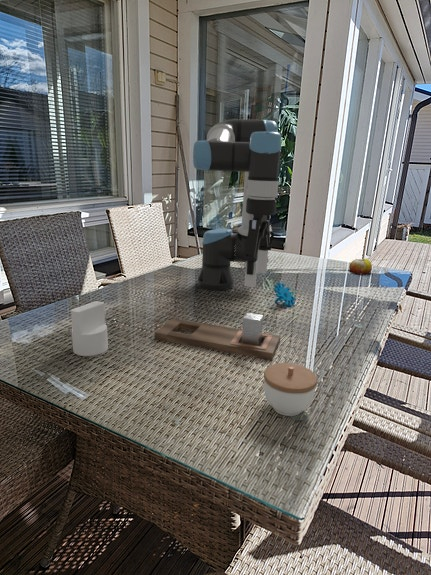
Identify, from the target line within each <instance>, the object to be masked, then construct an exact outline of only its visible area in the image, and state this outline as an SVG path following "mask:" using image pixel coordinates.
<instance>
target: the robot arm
mask: <svg viewBox="0 0 431 575" xmlns="http://www.w3.org/2000/svg"><path fill="white" fill-rule="evenodd" d="M278 128H279V127H278V124H277V123H276V122H275V121H274V120H268V119H246V118H245V119H238V118H231V119H225V120H223V121H220V122H217V123H215V124H214V125H213V126H212V127H211V128H209V130H208V132H207V135H206V139H203V140H195V142H194V143H193V150H192V162H193V163H192V164H193V167H194V169H195V170H199V171H200V170H201V171H205V172H206V171H208V172H209V171H217V172H219V171H222V172H223V171H224V172H240V173H241V172H244V178H243V179H244V180H243V194H242V197H243V198H242V199H243V200H242V214H241V225H240V226H239V227H238V229H237V231H236V232H233V230H232V229H231V228H215V229H210V230H209V229H208V230H206V231H205V232H204V233H203V236H202V237H203V238H202V243H201V244H202V258H201V260H202V262H201V263H202V264H201V269H200V271H199V274H198V278H197V286H198V287H199V288H202V289H203V290H209V291H210V290H211V291H225V290H230V289H232V288H233V287H234V282H235V280H234V276H233V274H232V270H231V262H236V263H245V267H244V287H248V288H249V287H250V288H256V285H257V274H262V275H263V274H264V275H266V274H267V271H268V268H267V267H268V262H267V259H268V260H269V251H271V250H272V245H271V246H270V237H271V235H270V231H271V230H270V229H271V228H270V227H271V225H270V224H271V223H270V221H271V216H273V215H275V214H276V213H277V200H276V198H278V191H279V170H280V163H281V162H280V161H281V151H282V135H281V133H280V132H279V130H278Z"/></svg>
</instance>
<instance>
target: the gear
mask: <svg viewBox="0 0 431 575" xmlns="http://www.w3.org/2000/svg"><path fill="white" fill-rule="evenodd" d="M290 290H291V288H290V286H287V287H286V284H285V283H284V282H282V283H281V282H280V281H279V282H277V283H276V284H275V285H274V288H273V292H275V297H276V299H274V302H275V303H277V302H280V303H283V302H284V303H283V305H284V306H285V307H287V306H288V307H290V308H291V307H293V305H295V304H296V302H295V300H296V297H295V296H294V294H295V291H294V290H292V291H290Z"/></svg>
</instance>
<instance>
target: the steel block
mask: <svg viewBox="0 0 431 575" xmlns="http://www.w3.org/2000/svg"><path fill="white" fill-rule="evenodd" d="M242 320H243V321H242V330H243V333H242V343H243V344H249V345H254V346H260V347H261V345H262V343H261V338H262V333H263V324H264V323H263V322H264V314H258V313H252V312H247V313H245V315H244V317H243V319H242Z"/></svg>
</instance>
